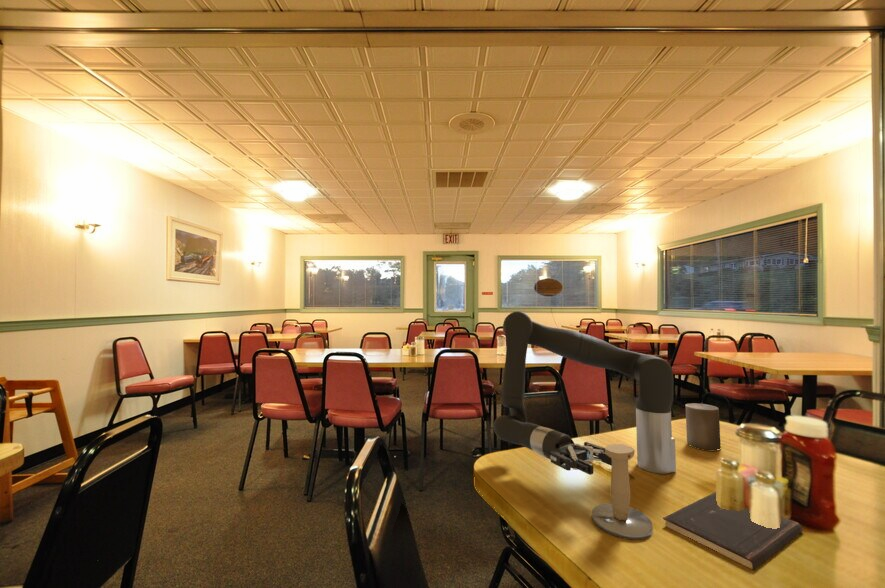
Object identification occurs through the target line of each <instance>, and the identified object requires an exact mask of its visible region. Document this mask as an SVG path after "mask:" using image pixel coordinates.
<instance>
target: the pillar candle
mask: <svg viewBox="0 0 885 588" xmlns="http://www.w3.org/2000/svg"><path fill="white" fill-rule="evenodd" d="M684 407H685V422H686V423H685V425H686V426H685V429H686V444H687V443H688V444H689V445H691V446H693V447H696V448H695V449H697V448H699V449H698V450H701V449H704V450H703V451H707V450H717V449H720V448H721V442H722V441H721V426H720V409H719V406H718V407H717V406H715V405H711V404H706V403H703V402H701V403H695V402H694V403H693V402H692V403H686V404H685V406H684ZM688 444H687V445H688ZM689 445H688V446H689ZM691 446H690V447H691ZM693 447H692V448H693ZM721 449H722V448H721Z"/></svg>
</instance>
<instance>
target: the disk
mask: <svg viewBox="0 0 885 588" xmlns="http://www.w3.org/2000/svg"><path fill="white" fill-rule="evenodd" d="M612 510H613V508H612V504H611V502H610V503H609V502H605V503H600V504H598V505H595V506H594V507H593V508H592V510H591V519H592V522H593V523H594V525H595V526H597V528H598V529H600V530H601V531H603V532H605V533H606V534H608V533H609V535H611V536H613V537H616V538H619V537H620V539H624V540H627V541H628V540H630V541H631V540H632V541H641V540H645V539H648V538H651V536H652V535H653V532H654V531H653V522H652V520H651V519H650V518H649V517H648V516H647V515H646V514H644V513H643V512H642V511H640V510H638V509H636V508H634V507H631V506H630V508H629V515H628V519H627V520H618V519H617V518H616V517H614V516H613V513H612Z"/></svg>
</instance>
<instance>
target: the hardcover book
mask: <svg viewBox="0 0 885 588" xmlns="http://www.w3.org/2000/svg"><path fill="white" fill-rule="evenodd" d="M716 492H717V491H715V492H712V493H711V494H709V495H707V496H704V497H702V498H701V499H698V500H696V501H694V502H692V503H690V504H688V505H687V506H684V507H682V508H680V509H678V510H676V511H674V512H672V513H670V514H668V515H666V516H663V520H665V527H667V528H669V529H671V530H673V531H675V532H676V531H677V533H678V534H681V535H683V536H685V537H686V538H688V537H689V539H690V538H691V540H692V539H693V541H694V540H695V542H696V541H697V542H696V543H699V544H700V543H701V544H700V545H702V544H703V546H704V545H705V546H704V547H706V546H707V548H708V547H709V549H710V548H711V549H710V550H712V549H713V551H714V550H715V552H716V551H717V553H718V552H719V553H718V554H721V555H723V556H725V557H727V558H728V559H730V560H733V561H735V562H737V563H739V564H741V565H743V566H744V567H746V568H749V569H750V570H752V571H755V570H756V569H757V568H759V567H760V566H761V565H763V564H764V563H765V562H766V561H768V560H769V559H770V558H771V557H773V556H774V555H775V554H777V553H779V552H780V550H782V549H783V548H784V547H786V546H787V545H788V544H789V543H790V542H792V541H793V540H794V539H796V538H797V537H798V536H800V535H801V534H802V533H803V528H802V525H801V524H800V522H797V521H795V520H792V519H789V518H786V517H784V516H781V517H782V518H781V524H780V528H777V529H772V528H766V527H764V526H761V525H758V524H756V523H754V522H752V521H751V519H750V513H749V508H745V509H744V510H740V511H734V510H726V509H722V508H720V507H719V506H718V505H717V501H716ZM800 533H801V534H800ZM799 534H800V535H799ZM796 536H797V537H796ZM795 537H796V538H795Z"/></svg>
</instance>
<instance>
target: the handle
mask: <svg viewBox="0 0 885 588" xmlns="http://www.w3.org/2000/svg"><path fill="white" fill-rule="evenodd" d="M604 448H605V454H606V455H607V456H609V457H610V458H612V466H611V472H610V474H611V475H610V503H611V504H612V508H613V510H612V513H613V516H614V517H616V518H617V519H618V520H627V519H628V515H629V508H630V507H631V487H630V472H629V461H630V460H632V459H633V458H634V456H635V448H634V447H632V446H630V445H627V444H621V443H613V444H608V445H606V446H605V447H604Z"/></svg>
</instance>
